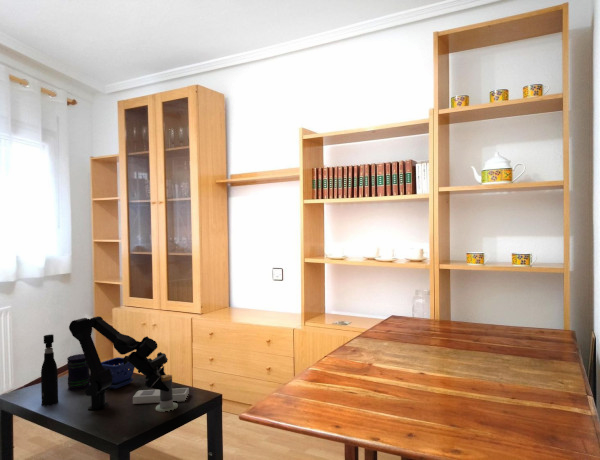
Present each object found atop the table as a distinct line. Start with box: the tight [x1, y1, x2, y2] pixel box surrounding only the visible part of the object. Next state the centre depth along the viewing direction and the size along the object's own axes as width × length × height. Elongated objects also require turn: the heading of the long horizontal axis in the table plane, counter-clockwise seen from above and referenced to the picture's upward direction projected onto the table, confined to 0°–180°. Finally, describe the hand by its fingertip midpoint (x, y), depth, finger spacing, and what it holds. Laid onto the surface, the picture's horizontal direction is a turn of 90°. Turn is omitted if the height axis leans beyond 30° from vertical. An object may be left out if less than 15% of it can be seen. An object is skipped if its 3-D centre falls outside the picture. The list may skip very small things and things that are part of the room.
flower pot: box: [101, 357, 136, 390], centre depth 214 cm, size 13×13×12 cm
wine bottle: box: [40, 334, 59, 407], centre depth 192 cm, size 6×6×30 cm
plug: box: [159, 374, 173, 409], centre depth 183 cm, size 6×6×12 cm
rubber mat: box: [155, 402, 179, 413], centre depth 183 cm, size 9×9×1 cm
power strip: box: [132, 387, 190, 405], centre depth 193 cm, size 8×22×3 cm, turn 94°
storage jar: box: [67, 353, 90, 392], centre depth 213 cm, size 10×10×15 cm
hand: (169, 387), depth 183 cm, fingers open, 9 cm apart
